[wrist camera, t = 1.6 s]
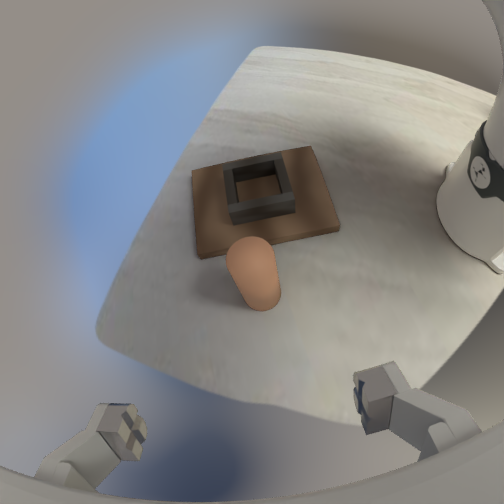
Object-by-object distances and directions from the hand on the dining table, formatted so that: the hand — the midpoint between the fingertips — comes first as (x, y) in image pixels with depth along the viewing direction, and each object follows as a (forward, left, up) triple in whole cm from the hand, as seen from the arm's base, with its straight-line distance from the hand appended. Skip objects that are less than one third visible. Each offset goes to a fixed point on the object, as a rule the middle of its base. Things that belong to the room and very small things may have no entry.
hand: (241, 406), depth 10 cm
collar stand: (-2, -25, -24) cm, 35 cm away
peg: (0, -12, -24) cm, 27 cm away
